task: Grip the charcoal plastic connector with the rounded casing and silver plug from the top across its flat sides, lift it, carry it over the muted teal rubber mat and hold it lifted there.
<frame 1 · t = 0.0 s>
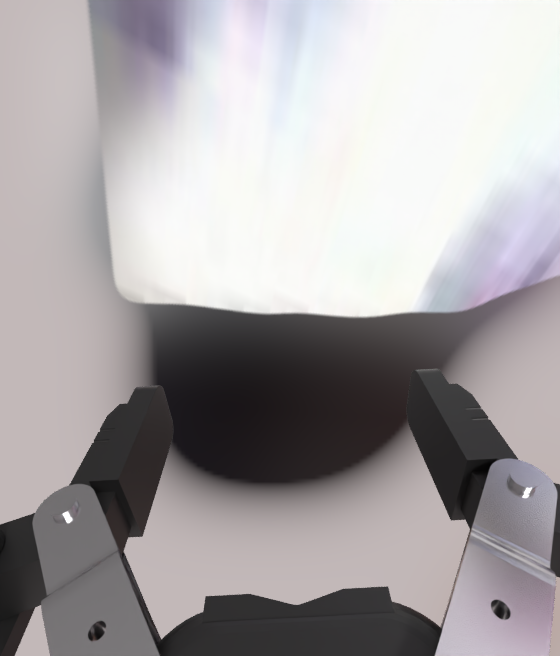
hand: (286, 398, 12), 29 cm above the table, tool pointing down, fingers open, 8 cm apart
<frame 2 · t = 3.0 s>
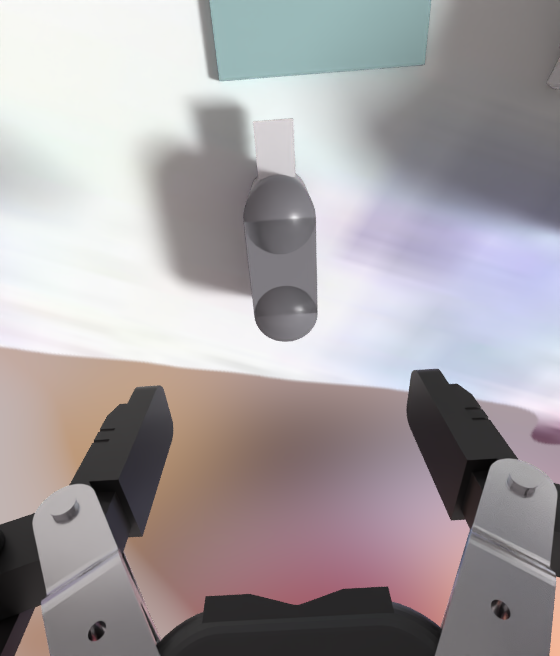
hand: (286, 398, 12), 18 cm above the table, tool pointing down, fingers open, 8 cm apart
connector: (281, 240, 27), on the table
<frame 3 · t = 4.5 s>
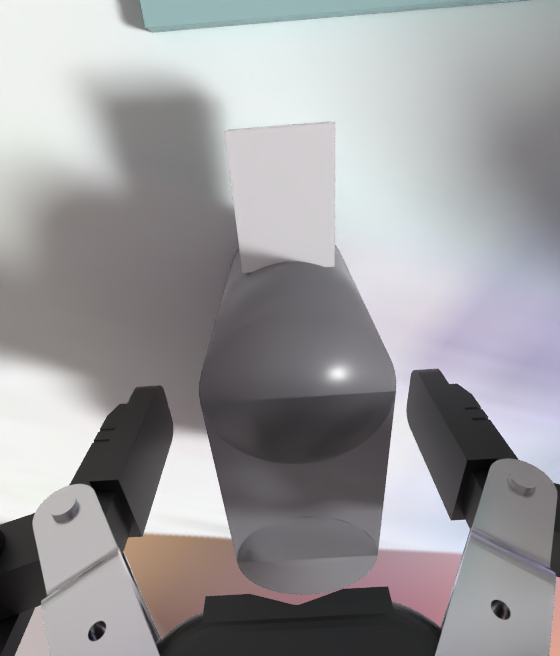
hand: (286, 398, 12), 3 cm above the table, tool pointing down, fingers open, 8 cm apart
connector: (292, 353, 14), on the table
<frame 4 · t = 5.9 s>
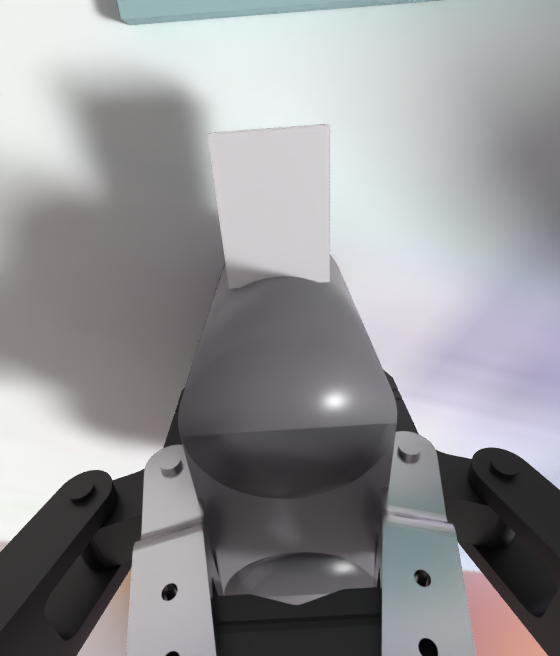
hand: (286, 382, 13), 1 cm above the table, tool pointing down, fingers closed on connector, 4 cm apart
connector: (286, 368, 14), on the table, touching gripper
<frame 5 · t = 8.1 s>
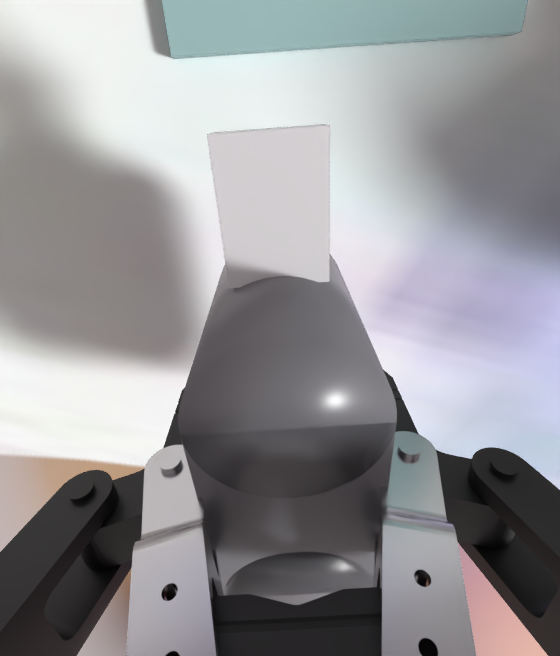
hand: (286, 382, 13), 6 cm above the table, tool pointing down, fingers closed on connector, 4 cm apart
connector: (286, 368, 14), point 5 cm above the table, touching gripper
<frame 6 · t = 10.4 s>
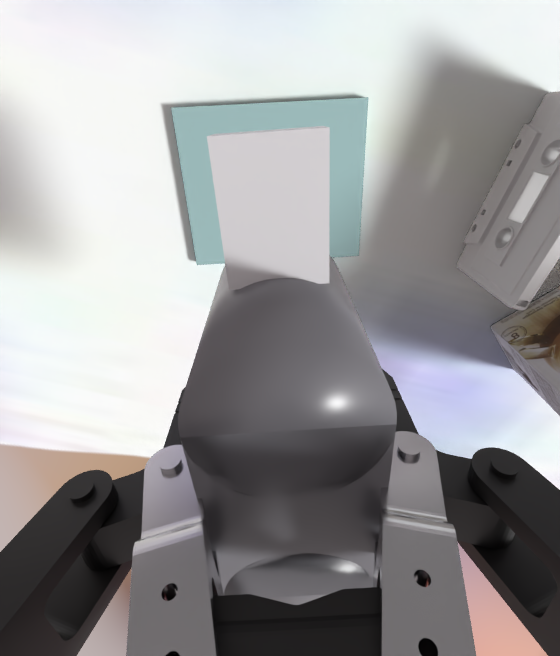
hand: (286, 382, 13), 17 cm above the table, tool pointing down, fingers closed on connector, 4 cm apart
cassette: (498, 189, 27), on the table
teal rubber mat: (274, 187, 26), on the table
coffee box: (549, 320, 32), on the table
connector: (286, 369, 14), point 16 cm above the table, touching gripper
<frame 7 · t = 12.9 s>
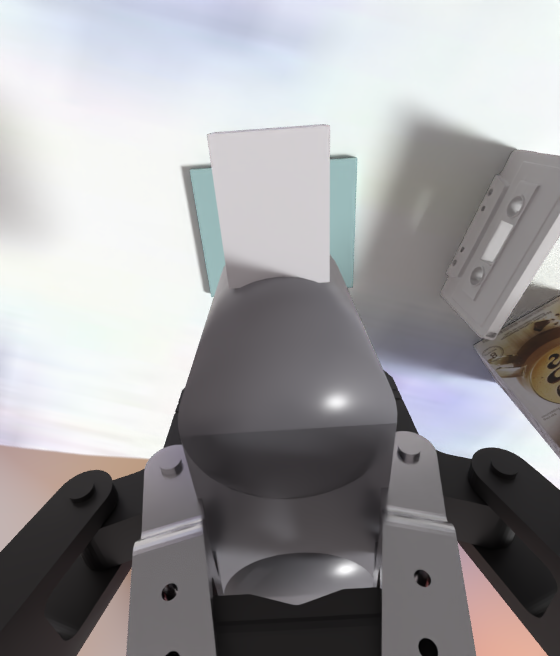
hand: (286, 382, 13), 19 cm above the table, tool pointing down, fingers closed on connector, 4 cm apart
cassette: (476, 229, 30), on the table
teal rubber mat: (277, 231, 30), on the table
coffee box: (527, 339, 35), on the table
connector: (286, 368, 14), point 18 cm above the table, touching gripper
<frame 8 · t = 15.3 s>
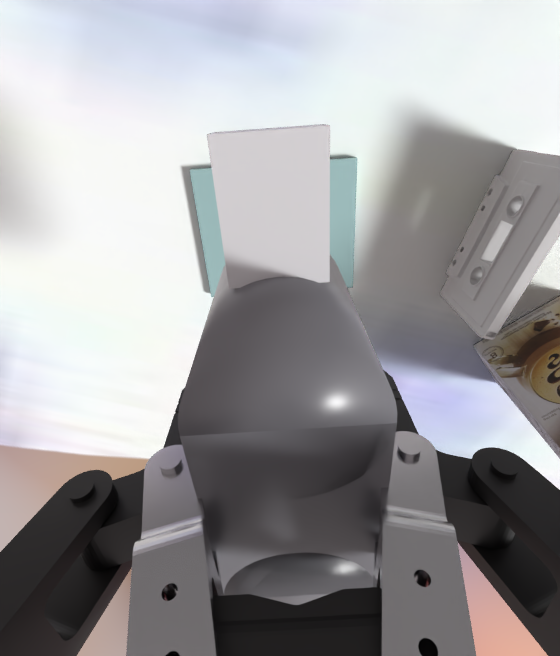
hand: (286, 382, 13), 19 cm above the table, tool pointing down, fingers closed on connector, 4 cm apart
cassette: (475, 229, 30), on the table
teal rubber mat: (277, 231, 30), on the table
coffee box: (527, 339, 35), on the table
connector: (286, 368, 14), point 18 cm above the table, touching gripper
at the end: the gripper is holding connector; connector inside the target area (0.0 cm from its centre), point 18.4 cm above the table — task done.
